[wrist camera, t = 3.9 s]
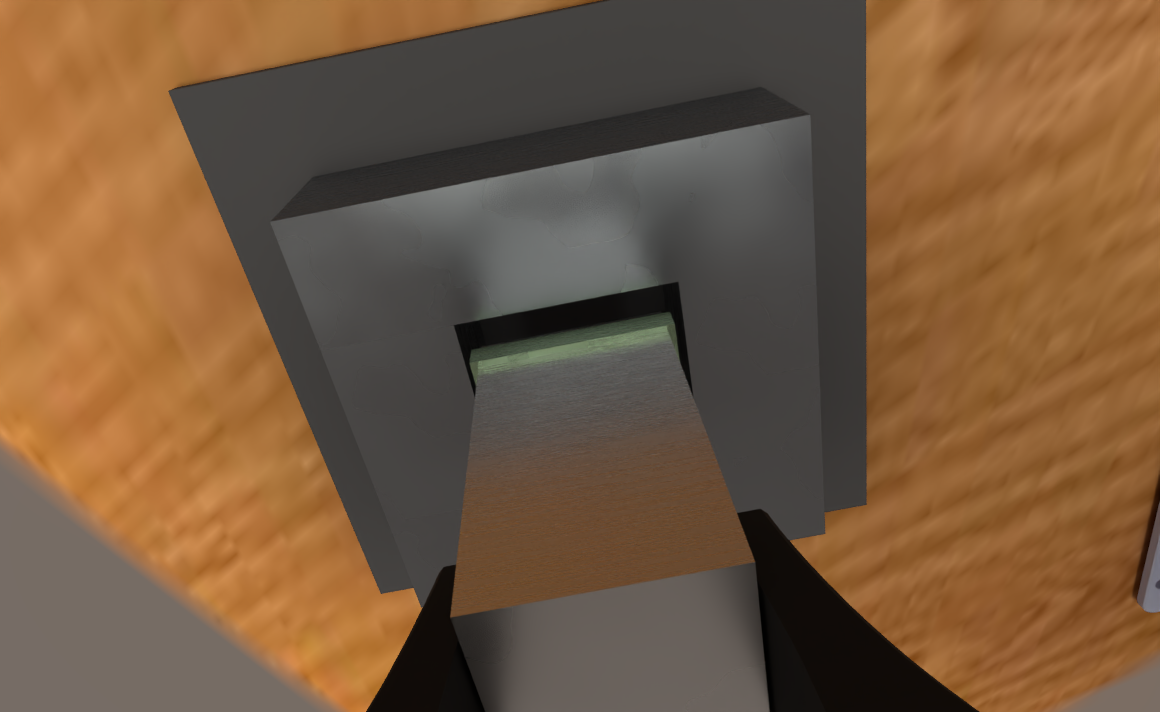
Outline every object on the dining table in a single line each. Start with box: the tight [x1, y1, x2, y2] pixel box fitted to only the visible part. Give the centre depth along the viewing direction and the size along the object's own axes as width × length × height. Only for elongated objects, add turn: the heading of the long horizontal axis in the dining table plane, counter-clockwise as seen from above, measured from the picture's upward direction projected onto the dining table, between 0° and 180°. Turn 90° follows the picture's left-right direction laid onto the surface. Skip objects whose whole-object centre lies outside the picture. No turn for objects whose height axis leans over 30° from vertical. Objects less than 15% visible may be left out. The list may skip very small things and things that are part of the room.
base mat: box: [168, 0, 866, 594], centre depth 21 cm, size 16×16×1 cm
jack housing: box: [270, 87, 825, 607], centre depth 19 cm, size 11×11×4 cm
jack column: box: [450, 312, 769, 712], centre depth 14 cm, size 4×4×8 cm
